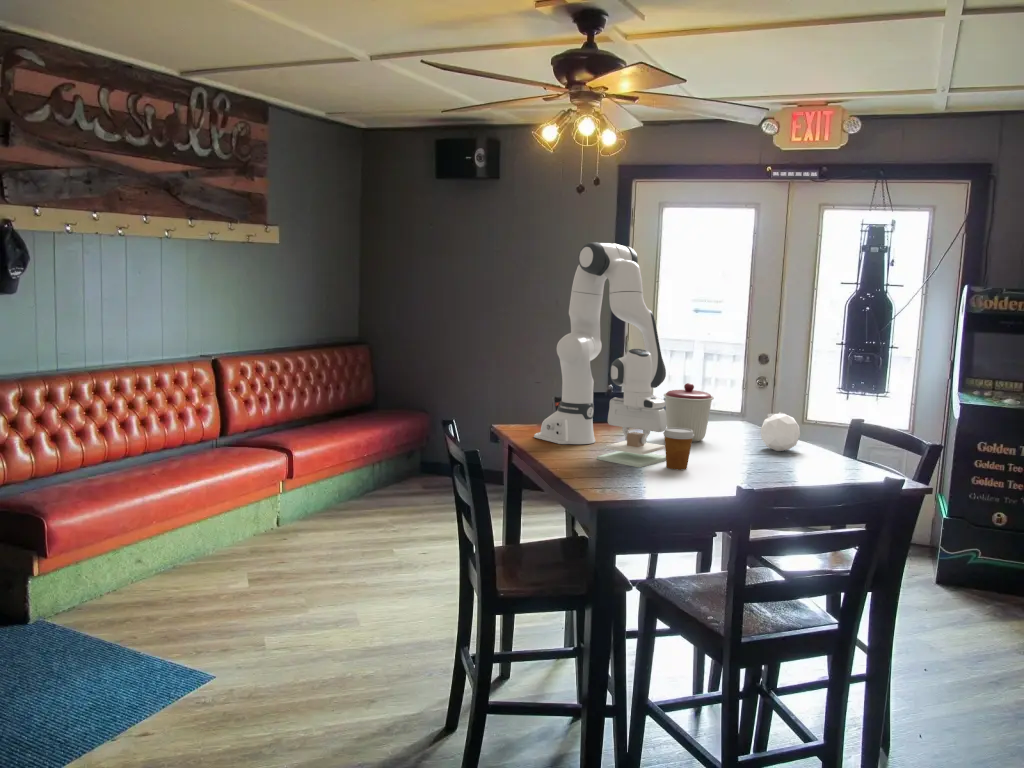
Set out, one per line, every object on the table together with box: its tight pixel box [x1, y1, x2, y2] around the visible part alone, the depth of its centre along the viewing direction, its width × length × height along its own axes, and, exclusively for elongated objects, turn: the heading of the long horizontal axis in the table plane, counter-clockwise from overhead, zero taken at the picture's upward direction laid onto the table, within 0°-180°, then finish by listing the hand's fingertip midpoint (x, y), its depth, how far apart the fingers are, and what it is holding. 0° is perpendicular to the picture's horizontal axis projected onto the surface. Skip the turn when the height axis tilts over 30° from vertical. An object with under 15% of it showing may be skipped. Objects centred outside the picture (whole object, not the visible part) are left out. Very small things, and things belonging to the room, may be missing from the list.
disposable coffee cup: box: [662, 427, 694, 471], centre depth 270 cm, size 10×10×12 cm
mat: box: [596, 450, 666, 468], centre depth 281 cm, size 16×18×1 cm
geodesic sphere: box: [760, 411, 801, 452], centre depth 305 cm, size 14×14×14 cm
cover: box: [604, 431, 665, 455], centre depth 280 cm, size 14×14×5 cm
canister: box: [663, 382, 714, 443], centre depth 318 cm, size 18×18×21 cm
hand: (635, 442), depth 280 cm, fingers closed on cover, 4 cm apart
